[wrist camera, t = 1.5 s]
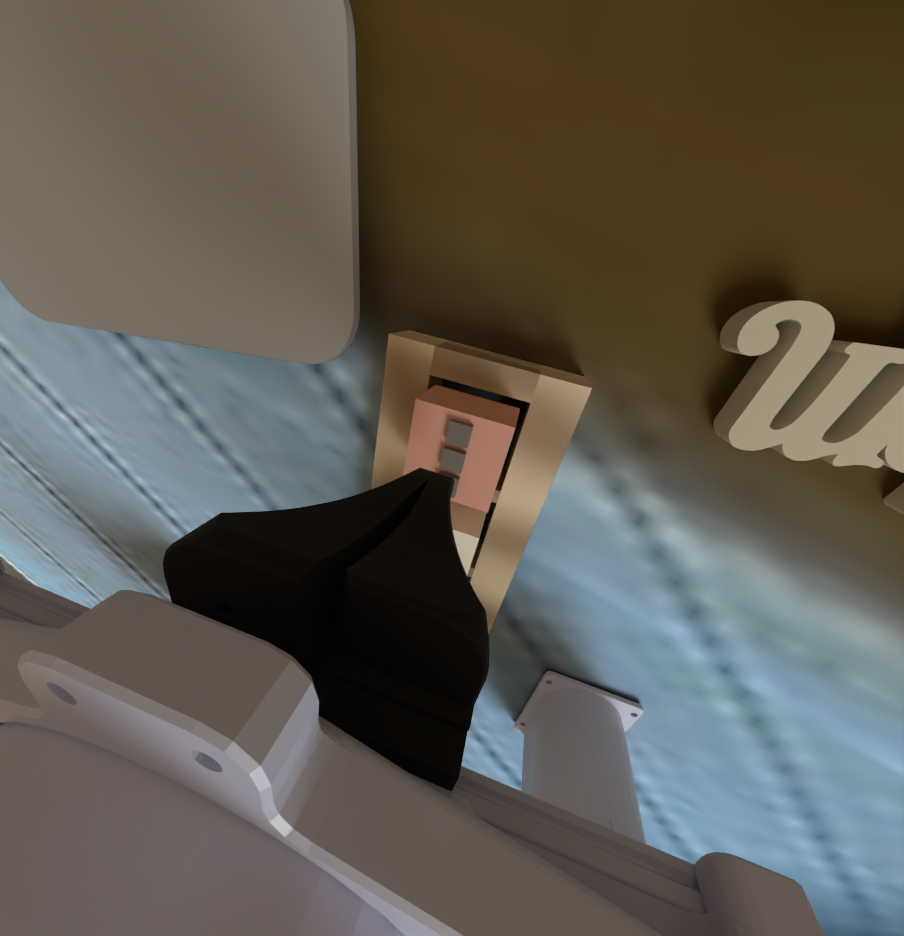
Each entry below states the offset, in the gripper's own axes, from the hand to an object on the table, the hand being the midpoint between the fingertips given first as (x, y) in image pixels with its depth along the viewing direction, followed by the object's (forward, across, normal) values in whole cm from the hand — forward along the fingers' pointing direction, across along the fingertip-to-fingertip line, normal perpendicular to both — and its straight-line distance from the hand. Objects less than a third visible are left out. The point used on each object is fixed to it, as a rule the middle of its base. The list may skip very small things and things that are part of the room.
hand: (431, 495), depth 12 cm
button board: (+9, 0, +6) cm, 11 cm away
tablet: (+10, +21, -8) cm, 25 cm away
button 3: (+6, 0, 0) cm, 6 cm away
